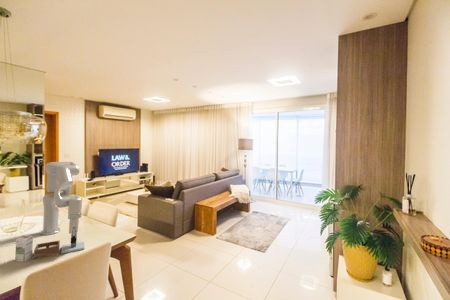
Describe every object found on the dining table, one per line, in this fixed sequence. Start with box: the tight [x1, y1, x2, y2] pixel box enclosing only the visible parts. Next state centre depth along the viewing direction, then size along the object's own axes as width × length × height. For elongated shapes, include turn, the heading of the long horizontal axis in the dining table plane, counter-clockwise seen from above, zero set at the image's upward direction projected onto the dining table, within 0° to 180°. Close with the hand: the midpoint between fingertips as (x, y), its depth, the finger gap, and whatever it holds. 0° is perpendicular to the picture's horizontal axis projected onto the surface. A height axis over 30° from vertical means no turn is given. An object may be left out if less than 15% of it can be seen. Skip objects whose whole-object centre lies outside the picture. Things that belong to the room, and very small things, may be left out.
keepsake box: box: [33, 240, 61, 260], centre depth 139 cm, size 10×12×6 cm
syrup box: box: [14, 235, 34, 263], centre depth 131 cm, size 6×6×14 cm
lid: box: [61, 233, 85, 255], centre depth 147 cm, size 11×13×10 cm
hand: (73, 240), depth 147 cm, fingers open, 6 cm apart
